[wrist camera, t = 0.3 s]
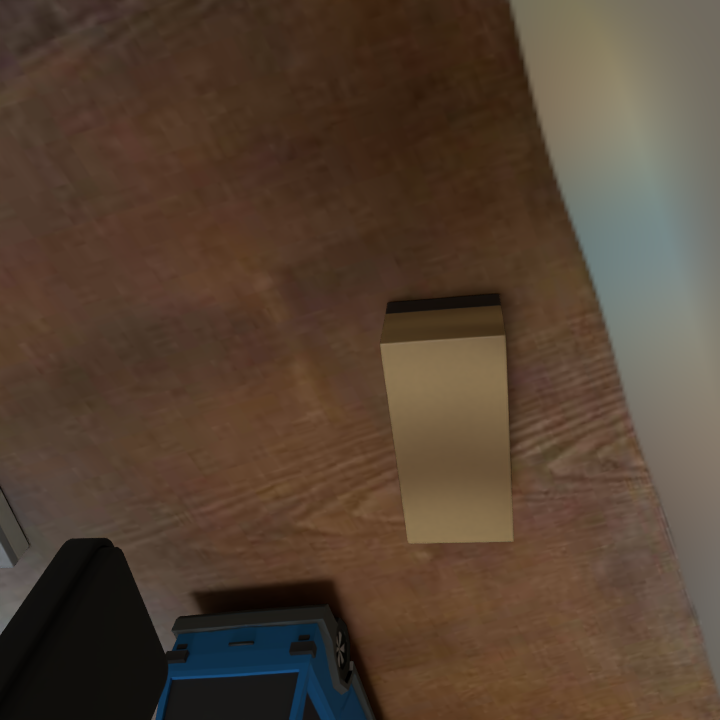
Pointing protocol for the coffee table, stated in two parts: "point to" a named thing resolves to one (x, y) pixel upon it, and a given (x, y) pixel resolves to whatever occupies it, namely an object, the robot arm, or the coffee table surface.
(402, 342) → the eraser
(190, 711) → the toy car
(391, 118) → the coffee table surface
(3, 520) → the whiteboard
